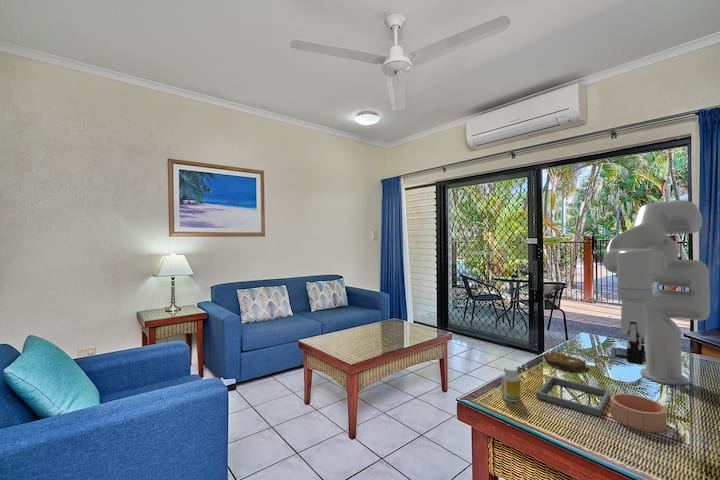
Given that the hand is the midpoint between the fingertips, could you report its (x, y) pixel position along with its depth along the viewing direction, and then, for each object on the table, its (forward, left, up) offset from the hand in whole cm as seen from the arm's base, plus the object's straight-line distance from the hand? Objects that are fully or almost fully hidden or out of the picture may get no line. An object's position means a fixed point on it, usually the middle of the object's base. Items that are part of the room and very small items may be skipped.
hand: (636, 360), depth 91 cm
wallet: (-65, -4, -17) cm, 67 cm away
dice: (0, 0, -1) cm, 1 cm away
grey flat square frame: (-4, -16, -17) cm, 23 cm away
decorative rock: (-33, -25, -17) cm, 45 cm away
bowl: (0, 0, -17) cm, 17 cm away
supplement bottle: (+10, -30, -17) cm, 36 cm away
